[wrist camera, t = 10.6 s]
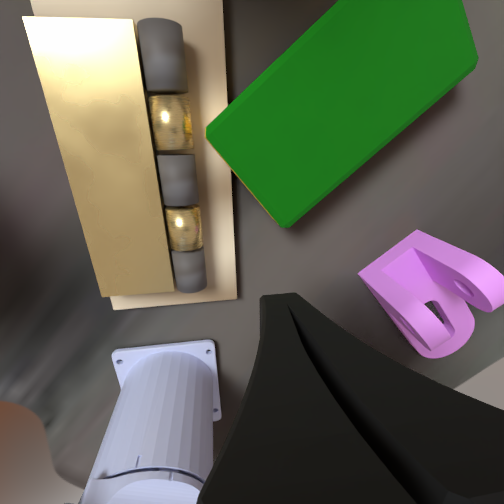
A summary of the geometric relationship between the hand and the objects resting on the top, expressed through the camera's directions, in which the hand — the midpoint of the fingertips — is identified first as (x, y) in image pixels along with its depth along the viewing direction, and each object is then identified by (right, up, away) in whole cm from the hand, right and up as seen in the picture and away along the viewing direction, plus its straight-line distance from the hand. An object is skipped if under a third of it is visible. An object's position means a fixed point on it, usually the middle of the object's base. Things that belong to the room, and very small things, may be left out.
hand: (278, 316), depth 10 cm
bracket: (+14, -2, +14) cm, 20 cm away
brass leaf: (-7, +7, +6) cm, 12 cm away
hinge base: (-7, +7, +7) cm, 12 cm away
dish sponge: (+4, +11, +6) cm, 14 cm away
